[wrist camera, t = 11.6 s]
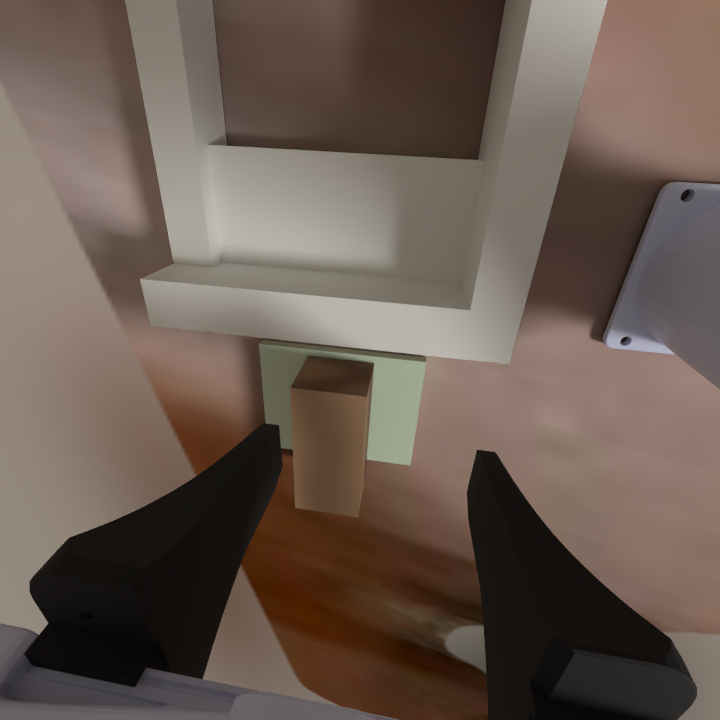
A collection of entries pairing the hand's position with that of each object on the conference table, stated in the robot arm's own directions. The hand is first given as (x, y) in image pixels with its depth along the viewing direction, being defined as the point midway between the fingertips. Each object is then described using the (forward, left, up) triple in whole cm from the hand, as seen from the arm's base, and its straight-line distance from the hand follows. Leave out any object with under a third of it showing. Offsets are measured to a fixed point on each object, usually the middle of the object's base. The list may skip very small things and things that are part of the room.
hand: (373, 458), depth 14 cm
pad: (+3, +5, -10) cm, 11 cm away
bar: (+3, +6, -9) cm, 11 cm away
